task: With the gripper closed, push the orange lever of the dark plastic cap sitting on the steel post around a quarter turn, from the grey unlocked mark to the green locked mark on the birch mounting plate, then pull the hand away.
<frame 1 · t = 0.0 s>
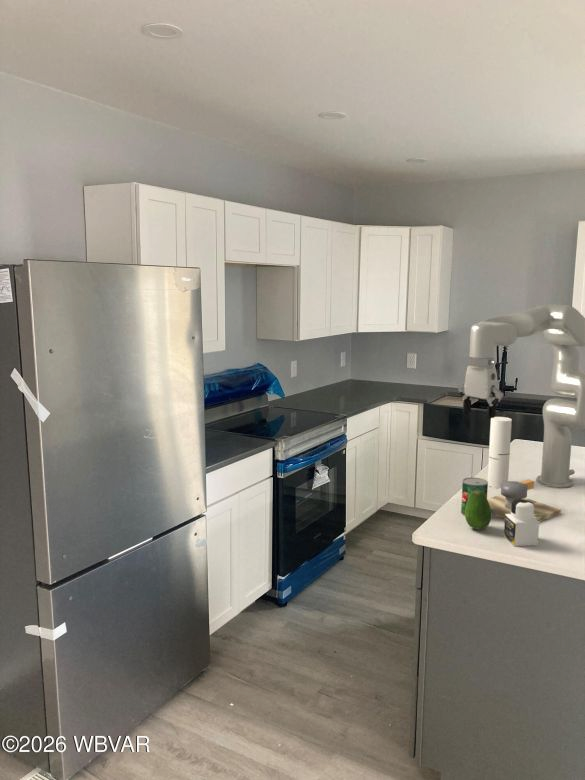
hand: (478, 415, 203), 31 cm above the countertop, tool pointing down, fingers open, 9 cm apart
medicine bottle: (520, 541, 182), on the countertop
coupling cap: (518, 488, 205), point 7 cm above the countertop, hinge at 0.0°
avocado: (477, 529, 190), on the countertop
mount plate: (516, 510, 206), on the countertop
cylindrical container: (497, 485, 231), on the countertop
canned tomato: (473, 514, 203), on the countertop
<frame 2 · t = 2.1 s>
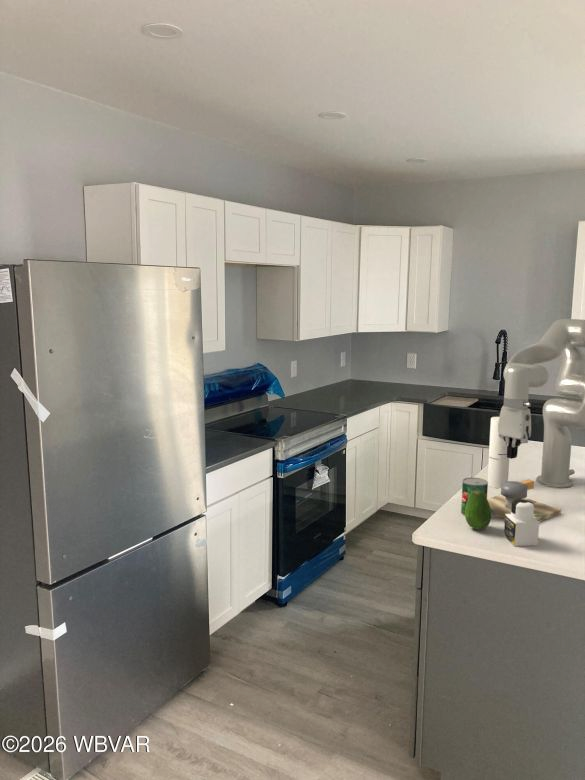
hand: (511, 457, 210), 16 cm above the countertop, tool pointing down, fingers closed
nothing on the countertop moved.
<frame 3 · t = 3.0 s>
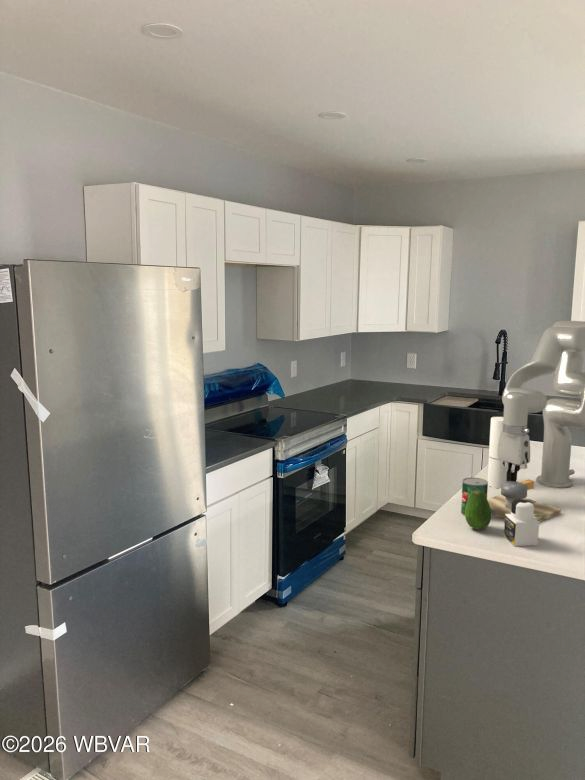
hand: (511, 482, 212), 7 cm above the countertop, tool pointing down, fingers closed
nothing on the countertop moved.
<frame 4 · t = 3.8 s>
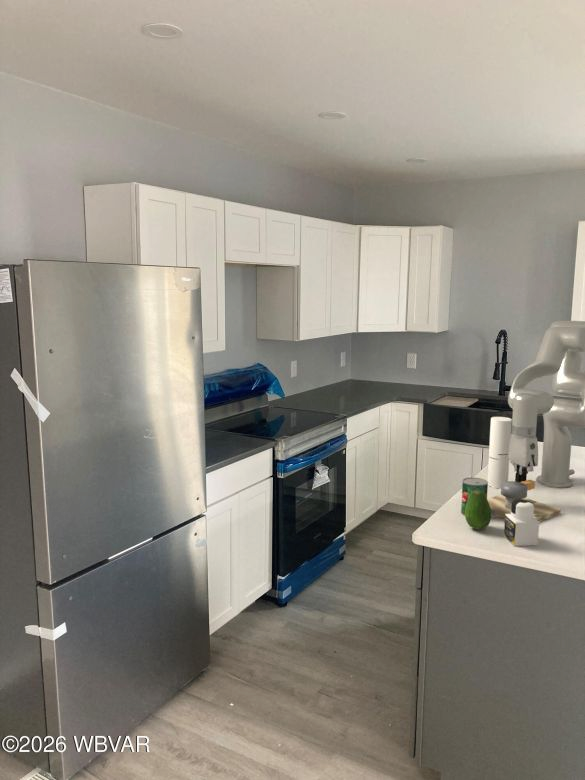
hand: (520, 484, 209), 7 cm above the countertop, tool pointing down, fingers closed
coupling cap: (519, 488, 205), point 7 cm above the countertop, hinge at 2.3°, touching gripper
everything else where it was.
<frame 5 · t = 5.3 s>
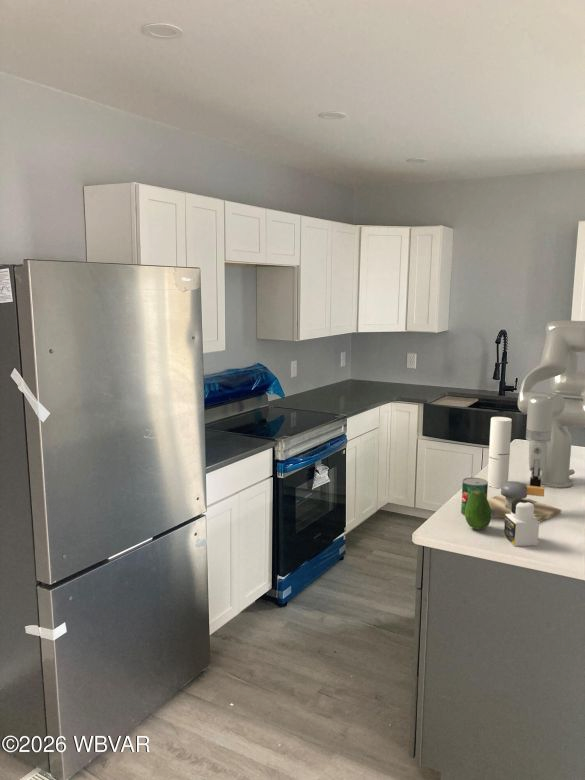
hand: (534, 489, 204), 7 cm above the countertop, tool pointing down, fingers closed
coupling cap: (522, 490, 202), point 7 cm above the countertop, hinge at 53.9°, touching gripper
everything else where it was.
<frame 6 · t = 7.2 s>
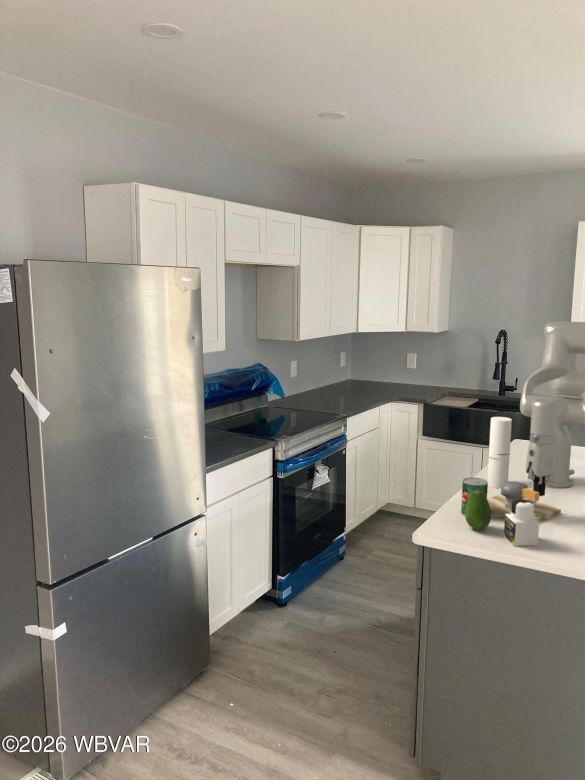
hand: (538, 494, 200), 7 cm above the countertop, tool pointing down, fingers closed
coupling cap: (520, 492, 201), point 7 cm above the countertop, hinge at 95.6°
everything else where it was.
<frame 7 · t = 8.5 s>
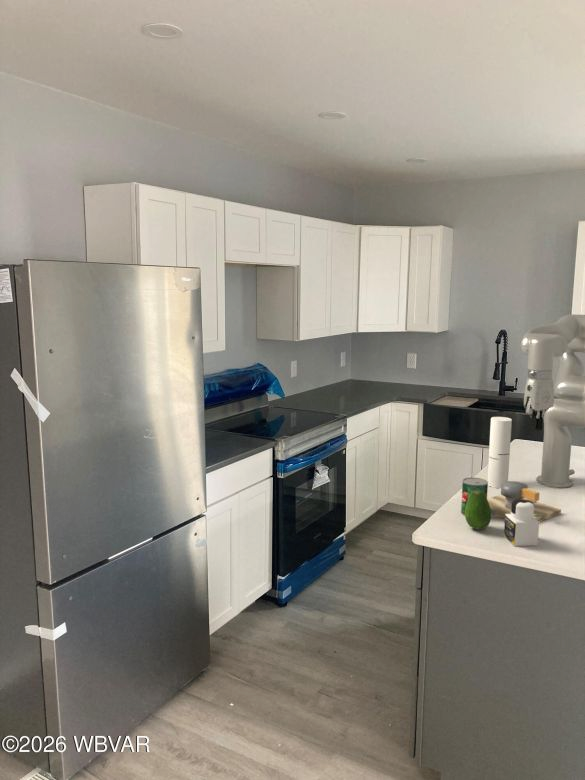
hand: (536, 429, 208), 26 cm above the countertop, tool pointing down, fingers closed
nothing on the countertop moved.
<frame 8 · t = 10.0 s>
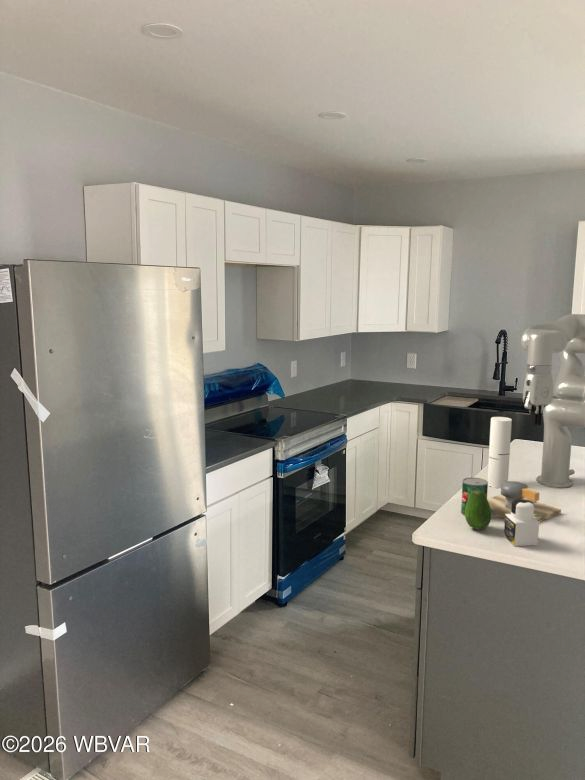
hand: (535, 424, 208), 27 cm above the countertop, tool pointing down, fingers closed
nothing on the countertop moved.
at the end: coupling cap at +96° (first picture: +0°); canned tomato moved 0.2 cm from its start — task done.
